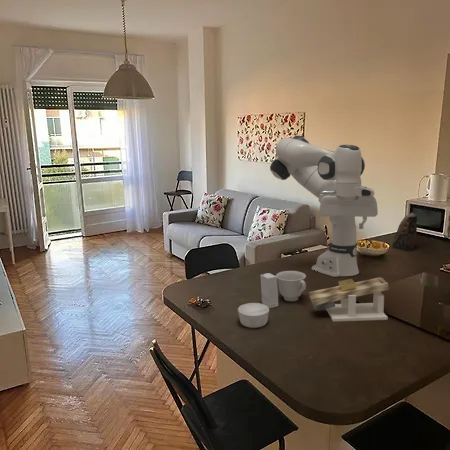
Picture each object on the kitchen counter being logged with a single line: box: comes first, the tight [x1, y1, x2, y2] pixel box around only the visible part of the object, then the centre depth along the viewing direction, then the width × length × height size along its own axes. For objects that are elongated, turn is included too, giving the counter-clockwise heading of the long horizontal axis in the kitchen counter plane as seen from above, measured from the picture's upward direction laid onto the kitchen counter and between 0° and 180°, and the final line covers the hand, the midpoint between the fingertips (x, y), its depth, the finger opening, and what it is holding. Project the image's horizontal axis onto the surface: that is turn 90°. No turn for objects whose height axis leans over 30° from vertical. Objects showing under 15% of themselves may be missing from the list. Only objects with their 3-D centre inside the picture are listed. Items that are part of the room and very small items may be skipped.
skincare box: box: [259, 272, 279, 309], centre depth 160 cm, size 6×4×12 cm
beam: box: [308, 276, 390, 312], centre depth 148 cm, size 27×8×5 cm, turn 90°
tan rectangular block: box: [337, 278, 356, 292], centre depth 148 cm, size 5×4×4 cm
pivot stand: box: [325, 291, 389, 322], centre depth 149 cm, size 19×13×9 cm
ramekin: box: [237, 302, 270, 329], centre depth 145 cm, size 11×11×5 cm
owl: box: [391, 212, 418, 252], centre depth 231 cm, size 13×13×20 cm
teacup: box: [275, 270, 307, 302], centre depth 164 cm, size 12×15×10 cm
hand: (347, 228), depth 150 cm, fingers open, 8 cm apart
